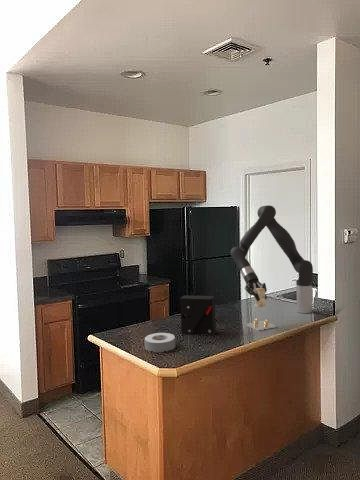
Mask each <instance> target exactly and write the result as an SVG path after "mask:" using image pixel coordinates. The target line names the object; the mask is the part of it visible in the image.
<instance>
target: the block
mask: <svg viewBox="0 0 360 480" xmlns="http://www.w3.org/2000/svg"><path fill="white" fill-rule="evenodd" d="M256 292H257V294H258V296H259V298H260V300H259V301H257V300H256V298H255V297H254V300H255V301H254V302H255V304H254V306H255V307H257V308H264V307H266V300H265V294H266V293H265V289H263V288H256Z"/></svg>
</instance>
